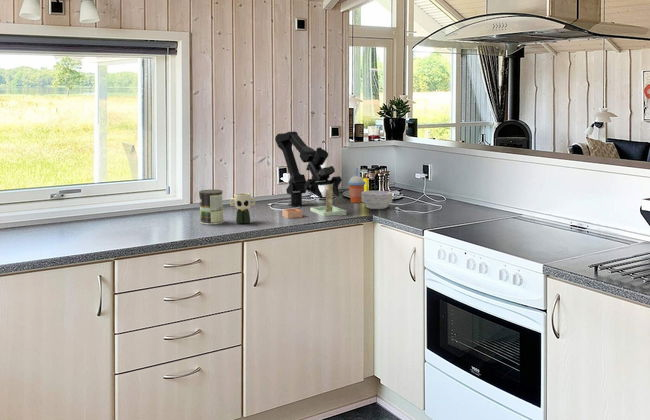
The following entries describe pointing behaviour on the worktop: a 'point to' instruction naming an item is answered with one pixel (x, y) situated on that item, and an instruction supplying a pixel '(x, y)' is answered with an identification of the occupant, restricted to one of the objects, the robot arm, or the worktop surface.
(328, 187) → the dowel
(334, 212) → the sage tray
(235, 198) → the character mug
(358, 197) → the cup with straw
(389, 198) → the paper bowls
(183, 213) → the worktop surface
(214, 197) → the coffee can
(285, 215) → the peach square box
